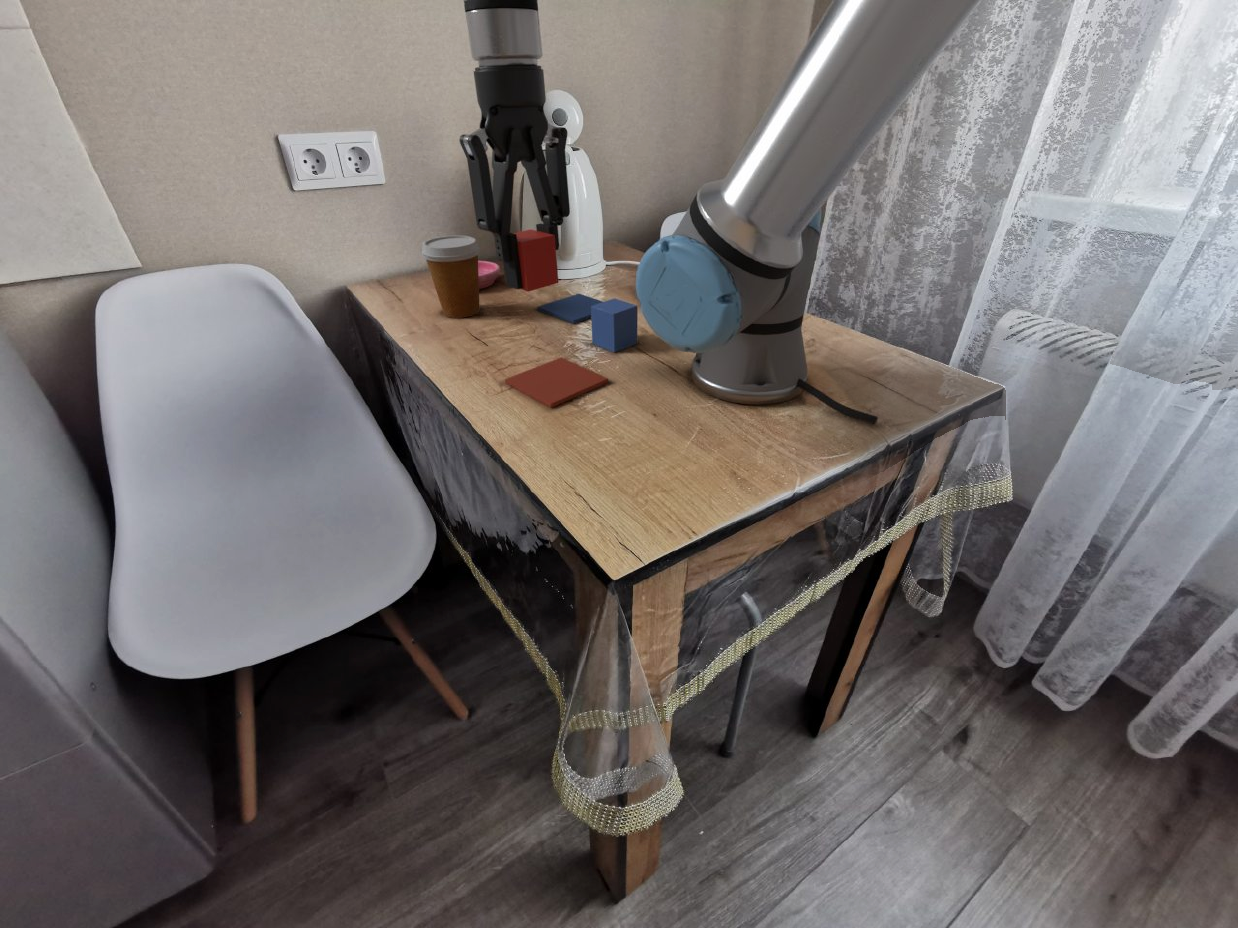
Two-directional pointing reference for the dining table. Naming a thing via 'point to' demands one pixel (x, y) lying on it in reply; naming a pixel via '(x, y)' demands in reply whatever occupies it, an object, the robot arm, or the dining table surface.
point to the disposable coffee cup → (454, 273)
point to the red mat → (556, 382)
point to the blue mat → (571, 308)
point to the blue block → (614, 324)
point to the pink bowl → (487, 273)
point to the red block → (537, 259)
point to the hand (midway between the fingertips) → (532, 281)
